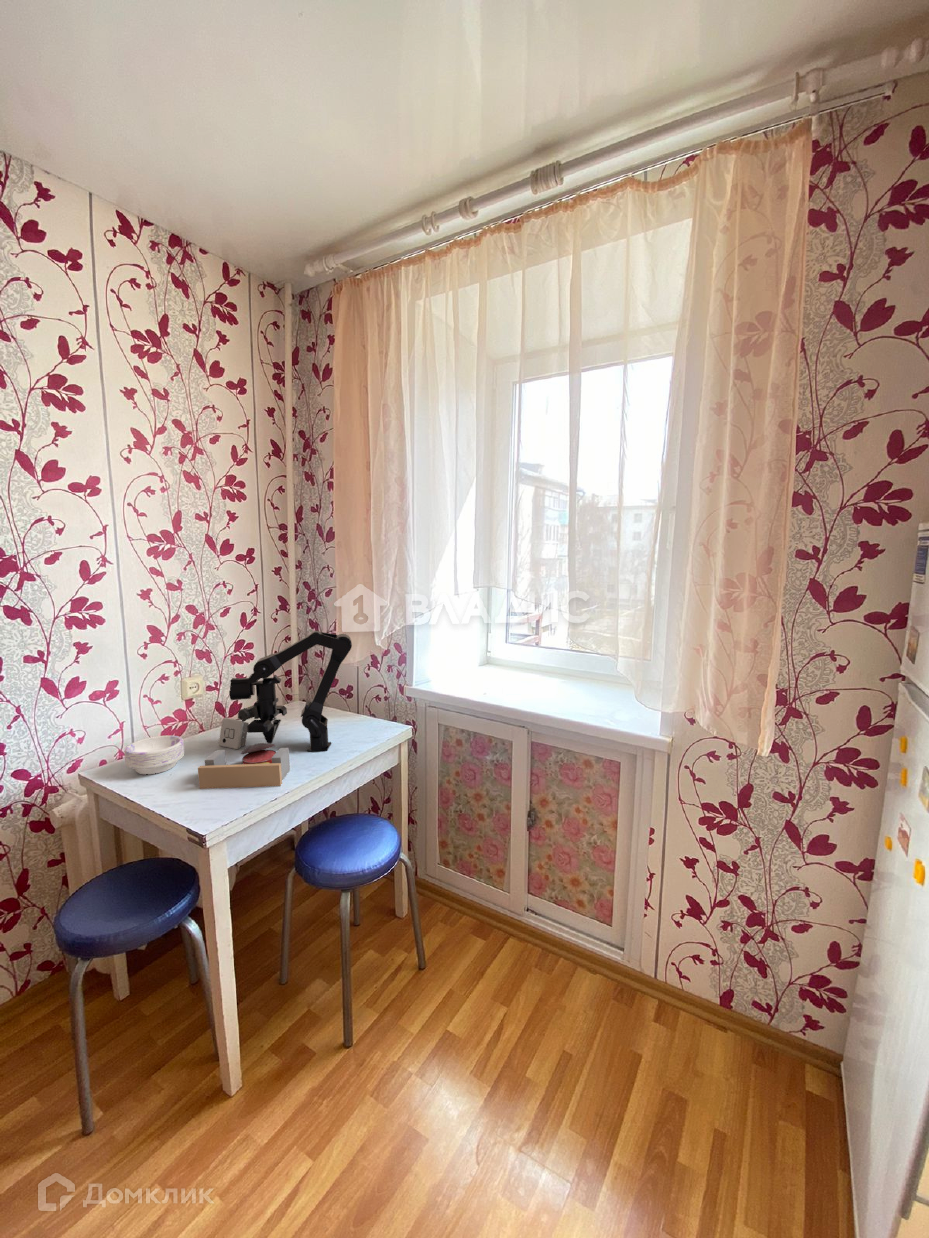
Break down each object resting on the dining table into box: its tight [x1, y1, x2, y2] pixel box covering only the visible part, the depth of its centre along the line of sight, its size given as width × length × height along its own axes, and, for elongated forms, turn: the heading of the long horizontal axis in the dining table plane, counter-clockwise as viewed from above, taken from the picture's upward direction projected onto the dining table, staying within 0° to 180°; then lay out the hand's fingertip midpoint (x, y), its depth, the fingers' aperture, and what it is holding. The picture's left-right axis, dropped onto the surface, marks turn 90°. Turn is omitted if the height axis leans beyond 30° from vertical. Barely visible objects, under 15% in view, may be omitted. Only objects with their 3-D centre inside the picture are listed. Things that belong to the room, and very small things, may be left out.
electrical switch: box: [218, 717, 250, 750], centre depth 167 cm, size 9×5×9 cm, turn 65°
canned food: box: [240, 742, 277, 764], centre depth 150 cm, size 11×10×10 cm
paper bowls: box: [124, 735, 185, 775], centre depth 149 cm, size 15×15×8 cm
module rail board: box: [197, 747, 291, 790], centre depth 141 cm, size 10×22×7 cm, turn 92°
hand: (269, 744), depth 159 cm, fingers closed
